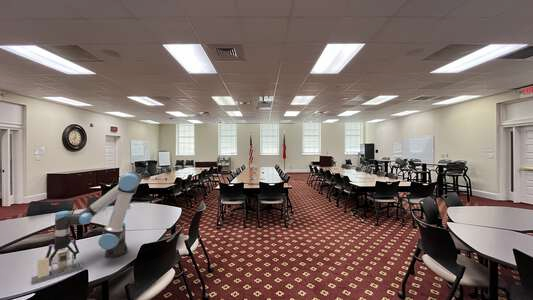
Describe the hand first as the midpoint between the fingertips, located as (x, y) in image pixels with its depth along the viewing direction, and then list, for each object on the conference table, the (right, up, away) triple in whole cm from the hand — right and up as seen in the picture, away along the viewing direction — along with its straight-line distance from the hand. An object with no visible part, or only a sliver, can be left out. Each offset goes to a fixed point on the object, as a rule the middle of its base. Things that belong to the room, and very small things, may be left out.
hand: (62, 267), depth 156 cm
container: (-10, 0, +9) cm, 14 cm away
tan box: (0, 0, 0) cm, 0 cm away
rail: (+5, 0, -8) cm, 9 cm away
